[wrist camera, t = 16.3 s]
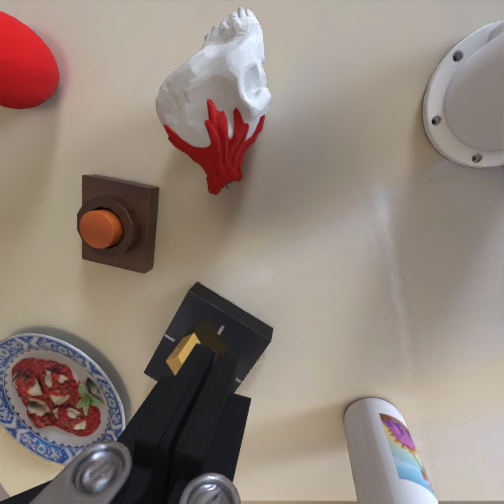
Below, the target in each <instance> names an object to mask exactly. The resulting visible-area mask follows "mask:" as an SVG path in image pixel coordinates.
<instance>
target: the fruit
mask: <svg viewBox="0 0 504 504" xmlns="http://www.w3.org/2000/svg"><path fill="white" fill-rule="evenodd" d="M58 82H59V72H58V67H57V64H56V61H55V59H54V56H53V54H52V53H51V51H50V49H49V48H48V47H47V45H46V44H45V43H44V42H43V40H42V39H41V38H40V37H39V36H38V35H37V34H36V33H34V32H33V31H32V30H31V29H30V28H29V27H28V26H26V25H25V24H23V23H22V22H20V21H19V20H17V19H16V18H14V17H12V16H10V15H8V14H6V13H4V12H1V11H0V106H3V107H8V108H14V109H25V108H31V107H35V106H38V105H40V104H42V103H43V102H45V101H46V100H47V99H48V98H50V97H51V96H52V94H53V93H54V91H55V89H56V87H57V85H58Z"/></svg>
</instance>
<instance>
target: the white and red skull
mask: <svg viewBox="0 0 504 504" xmlns="http://www.w3.org/2000/svg"><path fill="white" fill-rule="evenodd" d="M238 17H239V18H238ZM229 21H230V22H229V23H228V21H227V20H226V19H223V20H222V21H221V22H220V26H219V27H218V26H217V25H216V26H214V27H212V31H211V33H210V32H208V33H207V34H206V36H205V37H204V38H205V43H204V45H203V47H202V49H201V50H200V52H198V53H196V54H195V55H193V56H192V57H191V58H189V59H188V60H187V61H186V62H185V63H184V64H182V65H181V66H180V67H179V68H178V69H176V70H175V71H174V72H172V73H171V74H170V75H168V76H167V78H166V79H165V80H164V82H163V84H162V86H161V87H160V90H159V92H158V95H157V97H156V110H157V114H158V117H159V119H160V121H161V123H162V125H163V127H164V128H165V130H166V132H167V134H168V135H169V137H168V139H169V141H170V142H171V143H172V144H173V145H174V146H175V147H176V148H178V149H179V150H181V151H182V152H184V153H186V154H187V155H189V157H190V158H191V159H192V160H193V161H195V162H196V163H198V164H199V165H200V166H201V167H202V168H203V169H204V171H205V173H206V175H207V177H206V178H207V184H208V191H209V193H211V194H214V195H217V194H218V193H219V192H220V190H221V188H223V187H224V186H226V187H227V188H228V189H229V187H228V186H227V184H228V183H230V182H233V181H238V182H240V181H241V180H242V177H243V175H242V171H241V164H242V161H243V157H244V154H245V152H246V150H247V149H248V148H249V147H250V146H251V145H252V144H253V143H254V142H255V140H256V138H257V136H258V134H259V133H260V132H261V130H262V127H263V123H264V119H265V115H266V113H267V110H268V107H269V103H270V100H271V94H270V92H269V90H268V88H266V87H264V86H265V84H266V82H267V79H266V76H265V74H264V71H263V63H264V45H263V34H262V30H261V27H260V25H259V23H258V21H257V20H256V18H255V16H254V14H253V12H252V10H251V11H250V10H249V9H247V10H245V12H244V10H243V8H241V7H239V8H238V16H237V14H236V12H232V13H230V15H229Z"/></svg>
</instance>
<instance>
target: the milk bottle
mask: <svg viewBox="0 0 504 504" xmlns="http://www.w3.org/2000/svg"><path fill="white" fill-rule="evenodd" d="M344 428H345V434H346V440H347V446H348V452H349V457H350V463H351V469H352V474H353V480H354V485H355V490H356V496H357V501H358V504H438V501H437V499H436V496H435V493H434V491H433V488H432V486H431V483H430V481H429V479H428V476H427V474H426V471H425V469H424V467H423V464H422V462H421V459H420V457H419V455H418V452H417V450H416V448H415V445H414V443H413V440H412V438H411V436H410V433H409V431H408V429H407V426H406V424H405V422H404V420H403V417H402V415H401V414H400V412H399V411H398V410H397V409H396V408H395V407H394V406H393V405H392V404H390V403H388V402H387V401H384V400H381V399H377V398H365V399H361V400H358V401H356V402H354V403H353V404H352V405H350V407H349V408H348V409H347V411H346V413H345V416H344Z"/></svg>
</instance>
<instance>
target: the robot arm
mask: <svg viewBox="0 0 504 504" xmlns="http://www.w3.org/2000/svg"><path fill="white" fill-rule="evenodd" d="M452 58H455V61H453V59H452ZM422 112H423V124H424V127H425V131H426V134H427V136H428V138H429V140H430V142H431V144H432V145H433V146H434V147H435V149H436V150H437V151H438V152H439V153H440V154H441V155H443V156H444V157H446V158H447V159H448V160H450V161H452V162H455V163H457V164H459V165H464V166H468V167H482V168H486V167H497V166H501V165H504V20H500V21H496V22H494V23H491V24H489V25H487V26H484V27H482V28H480V29H478V30H477V31H475V32H473V33H472V34H470V35H469V36H467V37H466V38H465V39H463V40H462V41H461V42H460V43H458V44H457V45H456V46H455V47H454V48H453V49H452V50H451V51H450V52H449V53H448V54H447V55H446V56H445V57H444V58H443V60H442V61H441V62H440V64H439V65H438V67H437V68H436V69H435V71H434V73H433V75H432V77H431V79H430V81H429V83H428V86H427V89H426V92H425V95H424V101H423V109H422ZM432 120H434V121H435V123H434V125H433V124H432ZM472 157H474V160H473V161H472ZM214 359H215V352H213V351H211V347H210V346H207V345H203V344H199V343H196V344H195V346H194V347H193V349H192V350H191V352H190V353H189V355H188V357H187V358H186V360H185V361H184V363H183V364H182V366H181V368H180V369H179V371H178V372H177V374H176V375H175V377H173V376H169V375H166V374H164V375H163V376H162V377H161V378H160V379H159V381H158V382H157V384H156V385H155V386H154V388H153V389H152V391H151V392H150V394H149V395H148V396H147V398H146V399H145V401H144V402H143V403H142V405H141V406H140V408H139V409H138V411H137V412H136V413H135V415H134V416H133V418H132V419H131V421H130V422H129V423H128V425H127V426H126V428H125V429H124V430H123V432H122V433H121V435H120V436H119V438H118V439H117V440H116V441H103V442H99V443H96V444H94V445H92V446H90V447H88V448H86V449H85V450H83V451H82V452H81V453H80V454H78V455H77V456H76V457H75V458H74V459H73V460H72V461H71V462H70V463H69V464H68V465H67V466H66V467H65V468H64V469H63V470H62V471H61V472H60V473H59V474H58V475H57V476H56V477H55V478H54V479H53V480H51V481H48V482H46V483H43V484H41V485H39V486H36V487H34V488H31V489H29V490H27V491H24V492H22V493H20V494H17V495H15V496H12V497H10V498H8V499H5V500H3V501H1V502H0V504H241V500H240V496H239V493H238V491H237V488H236V487H235V486H234V484H233V479H234V474H235V470H236V465H237V461H238V456H239V452H240V448H241V443H242V439H243V434H244V430H245V425H246V420H247V416H248V411H249V406H250V402H251V398H248V397H245V396H241V395H238V394H234V393H233V391H234V386H235V380H236V375H237V370H238V364H239V359H240V354H237V353H233V352H230V351H225V353H224V354H221V353H219V354H218V357H217V359H216V361H215V363H214Z"/></svg>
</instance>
